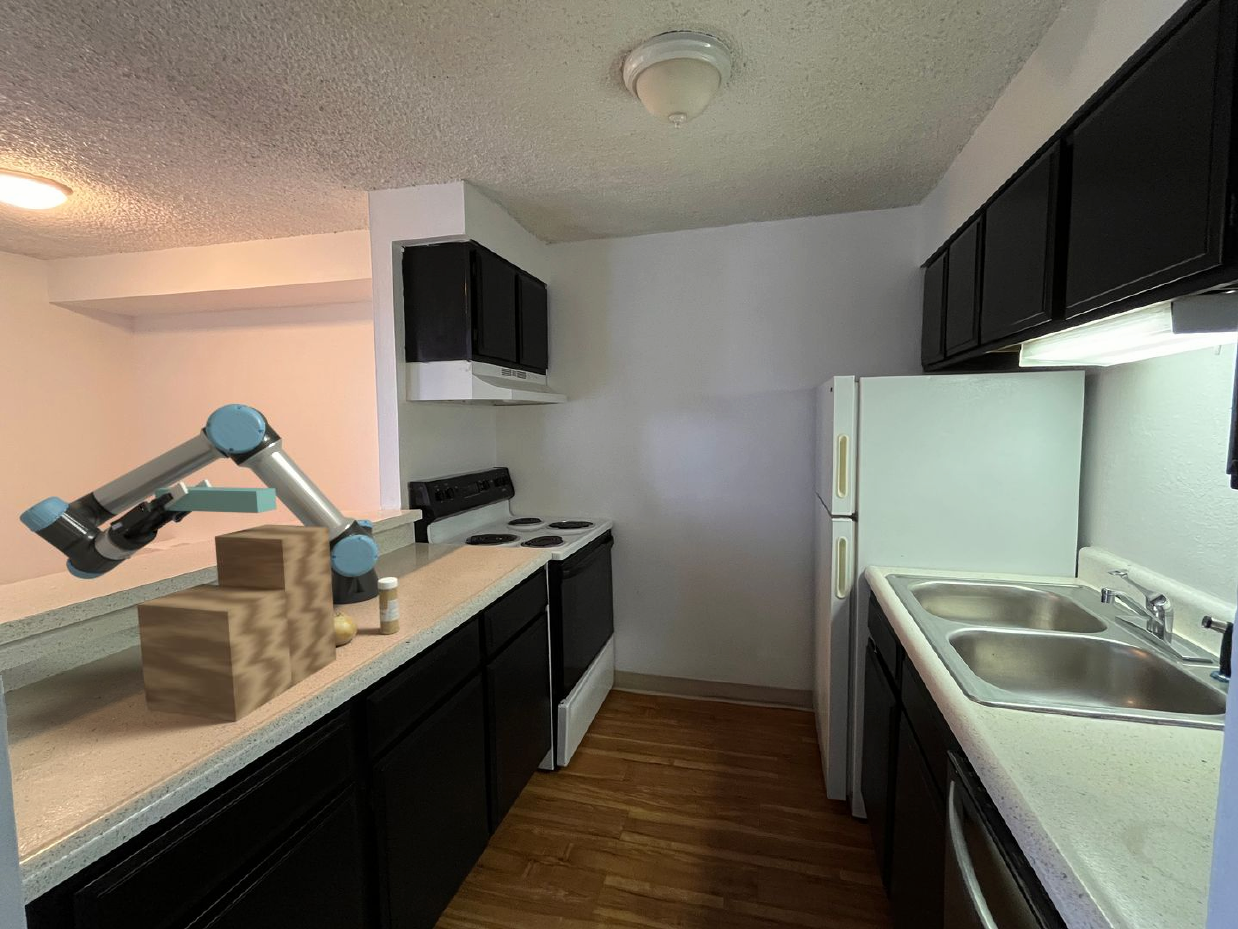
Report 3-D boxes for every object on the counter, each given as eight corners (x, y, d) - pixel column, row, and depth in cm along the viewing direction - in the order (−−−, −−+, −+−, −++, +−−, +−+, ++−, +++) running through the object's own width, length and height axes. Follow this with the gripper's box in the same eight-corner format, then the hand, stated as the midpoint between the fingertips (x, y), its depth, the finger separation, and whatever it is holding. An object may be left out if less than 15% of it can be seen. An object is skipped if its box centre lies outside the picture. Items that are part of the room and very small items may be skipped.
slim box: (178, 506, 115) (176, 486, 115) (276, 509, 110) (275, 488, 109) (156, 510, 111) (154, 489, 110) (257, 513, 106) (256, 491, 105)
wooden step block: (261, 652, 119) (251, 523, 116) (336, 659, 115) (328, 526, 112) (146, 709, 95) (131, 550, 93) (236, 721, 91) (223, 555, 89)
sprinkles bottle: (376, 631, 130) (374, 579, 128) (394, 626, 133) (392, 575, 132) (385, 636, 127) (382, 583, 126) (403, 630, 130) (400, 578, 129)
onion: (364, 640, 125) (362, 612, 124) (330, 653, 118) (328, 623, 118) (346, 633, 129) (345, 605, 129) (313, 644, 123) (311, 615, 122)
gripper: (176, 541, 124) (242, 495, 119) (88, 561, 107) (161, 508, 102) (161, 514, 125) (227, 467, 119) (71, 529, 107) (143, 475, 102)
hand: (196, 486), depth 111 cm, fingers closed on slim box, 4 cm apart
